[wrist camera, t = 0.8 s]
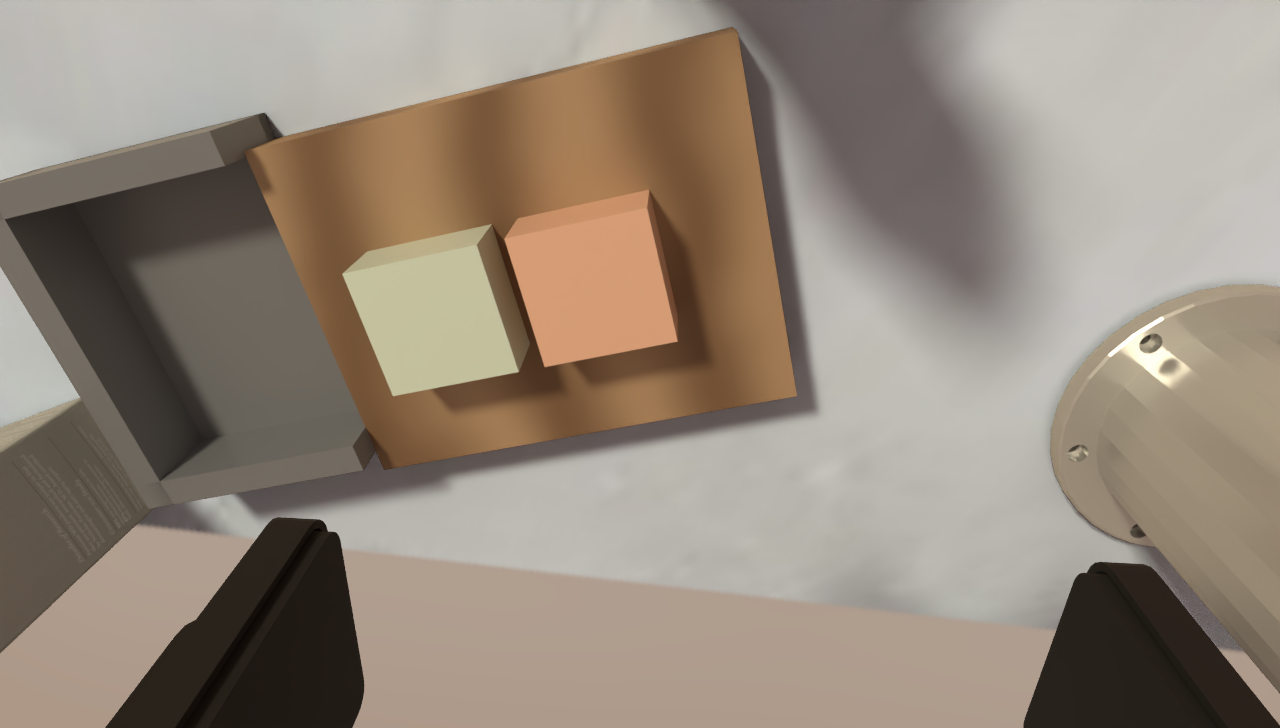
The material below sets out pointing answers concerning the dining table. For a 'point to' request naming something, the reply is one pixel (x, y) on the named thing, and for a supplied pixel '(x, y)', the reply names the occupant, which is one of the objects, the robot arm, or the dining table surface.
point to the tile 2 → (594, 279)
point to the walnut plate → (537, 183)
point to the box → (181, 316)
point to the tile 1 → (439, 310)
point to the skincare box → (56, 509)
